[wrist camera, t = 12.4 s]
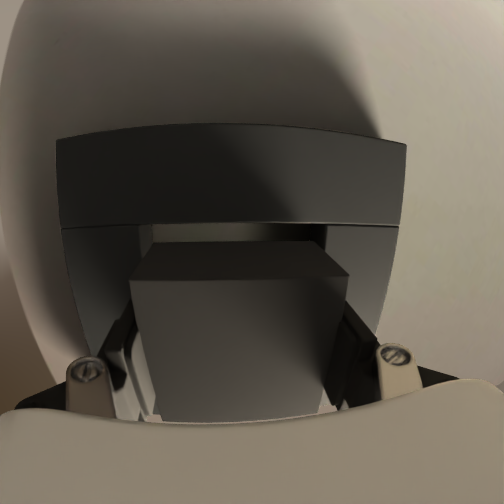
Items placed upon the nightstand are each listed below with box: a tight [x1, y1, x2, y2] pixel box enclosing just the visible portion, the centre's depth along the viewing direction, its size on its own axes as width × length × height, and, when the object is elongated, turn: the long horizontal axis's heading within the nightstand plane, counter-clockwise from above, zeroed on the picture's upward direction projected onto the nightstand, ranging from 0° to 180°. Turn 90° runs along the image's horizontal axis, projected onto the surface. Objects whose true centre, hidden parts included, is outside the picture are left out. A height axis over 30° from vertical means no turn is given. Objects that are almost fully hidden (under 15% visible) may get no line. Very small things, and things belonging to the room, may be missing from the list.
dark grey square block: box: [128, 241, 350, 423], centre depth 10 cm, size 6×6×3 cm
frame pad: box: [56, 123, 407, 415], centre depth 13 cm, size 15×15×2 cm
